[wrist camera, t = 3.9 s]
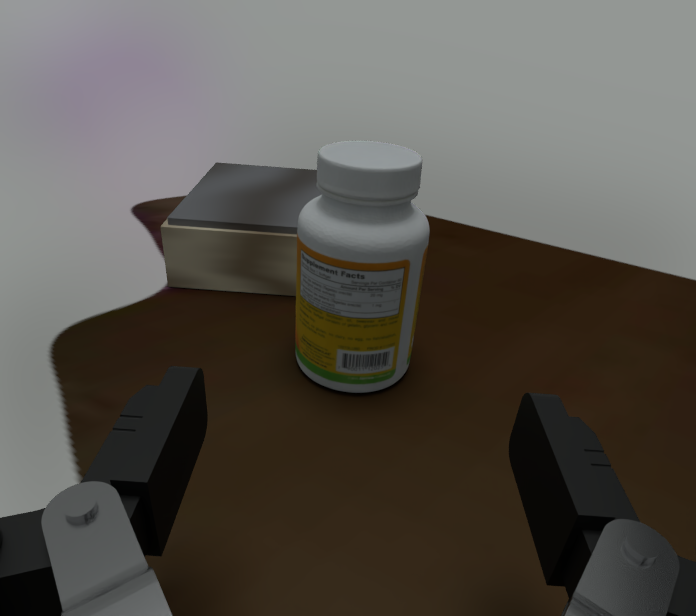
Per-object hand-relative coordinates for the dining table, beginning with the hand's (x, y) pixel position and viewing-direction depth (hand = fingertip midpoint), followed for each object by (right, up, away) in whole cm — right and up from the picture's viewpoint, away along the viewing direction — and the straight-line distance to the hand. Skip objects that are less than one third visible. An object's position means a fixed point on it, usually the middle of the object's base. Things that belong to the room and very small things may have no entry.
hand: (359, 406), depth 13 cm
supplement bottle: (0, 0, +12) cm, 12 cm away
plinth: (-5, +6, +21) cm, 22 cm away
